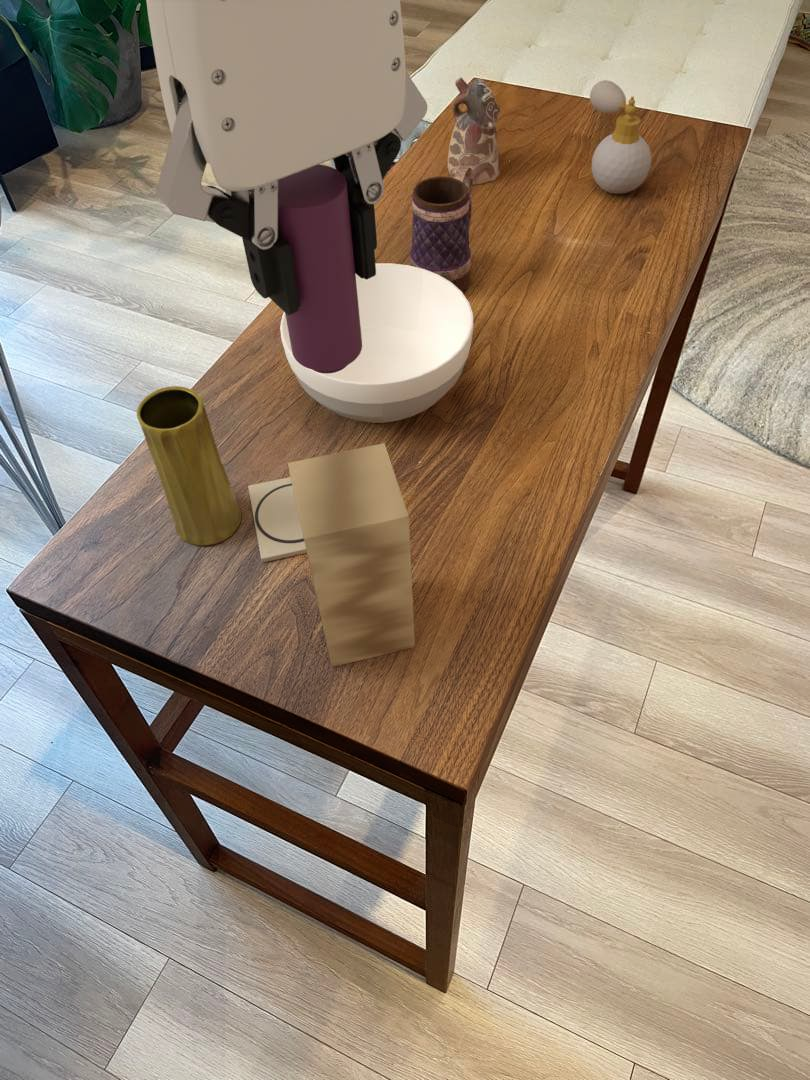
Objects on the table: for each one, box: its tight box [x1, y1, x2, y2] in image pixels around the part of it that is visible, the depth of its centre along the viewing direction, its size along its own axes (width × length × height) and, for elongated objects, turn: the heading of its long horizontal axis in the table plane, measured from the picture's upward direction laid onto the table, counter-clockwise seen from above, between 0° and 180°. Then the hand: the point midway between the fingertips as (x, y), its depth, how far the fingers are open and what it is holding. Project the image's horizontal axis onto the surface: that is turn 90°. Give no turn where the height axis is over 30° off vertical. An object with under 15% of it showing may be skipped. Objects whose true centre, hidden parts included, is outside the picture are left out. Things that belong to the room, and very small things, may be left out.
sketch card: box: [247, 476, 307, 563], centre depth 77 cm, size 11×9×1 cm
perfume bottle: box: [589, 79, 652, 195], centre depth 106 cm, size 8×10×12 cm
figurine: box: [447, 77, 501, 186], centre depth 109 cm, size 7×7×12 cm
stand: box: [287, 442, 416, 668], centre depth 63 cm, size 7×7×17 cm
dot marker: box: [278, 164, 362, 374], centre depth 44 cm, size 4×4×11 cm
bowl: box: [279, 262, 475, 424], centre depth 84 cm, size 19×19×9 cm
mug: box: [409, 164, 474, 293], centre depth 95 cm, size 10×7×12 cm
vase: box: [136, 385, 242, 547], centre depth 72 cm, size 6×6×14 cm
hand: (317, 280), depth 44 cm, fingers closed on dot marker, 4 cm apart
